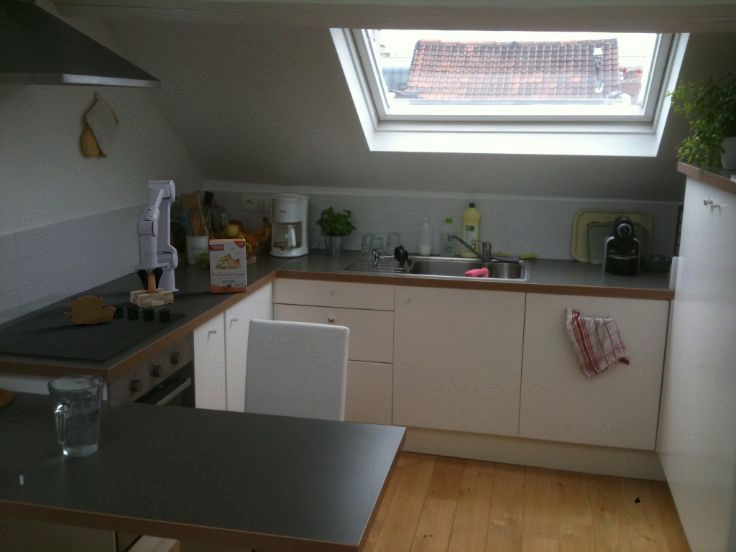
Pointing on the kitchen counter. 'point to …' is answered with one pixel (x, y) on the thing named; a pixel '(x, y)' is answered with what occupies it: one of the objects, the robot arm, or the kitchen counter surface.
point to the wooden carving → (89, 310)
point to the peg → (151, 284)
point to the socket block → (151, 297)
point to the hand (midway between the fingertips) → (151, 289)
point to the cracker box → (228, 265)
